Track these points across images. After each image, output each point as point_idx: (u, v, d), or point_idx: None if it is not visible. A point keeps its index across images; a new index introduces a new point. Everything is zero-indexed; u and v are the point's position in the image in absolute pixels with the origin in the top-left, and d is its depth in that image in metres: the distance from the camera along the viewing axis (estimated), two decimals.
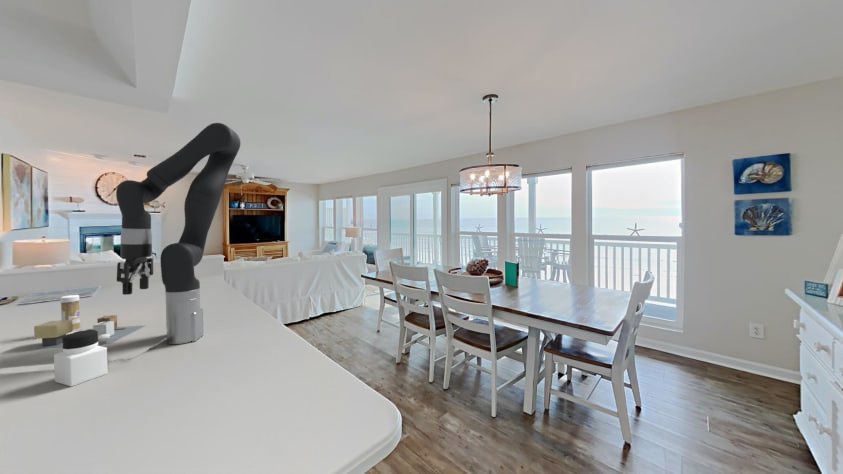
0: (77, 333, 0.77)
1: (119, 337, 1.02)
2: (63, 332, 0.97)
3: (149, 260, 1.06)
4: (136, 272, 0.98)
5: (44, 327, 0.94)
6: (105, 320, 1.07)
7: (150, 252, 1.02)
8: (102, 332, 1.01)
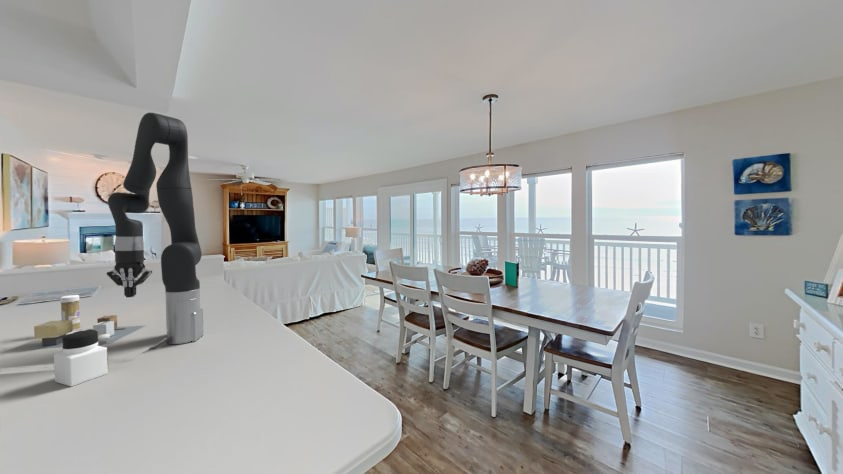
0: (77, 333, 0.77)
1: (119, 337, 1.02)
2: (63, 332, 0.97)
3: None
4: None
5: (44, 327, 0.94)
6: (105, 320, 1.07)
7: None
8: (102, 332, 1.01)
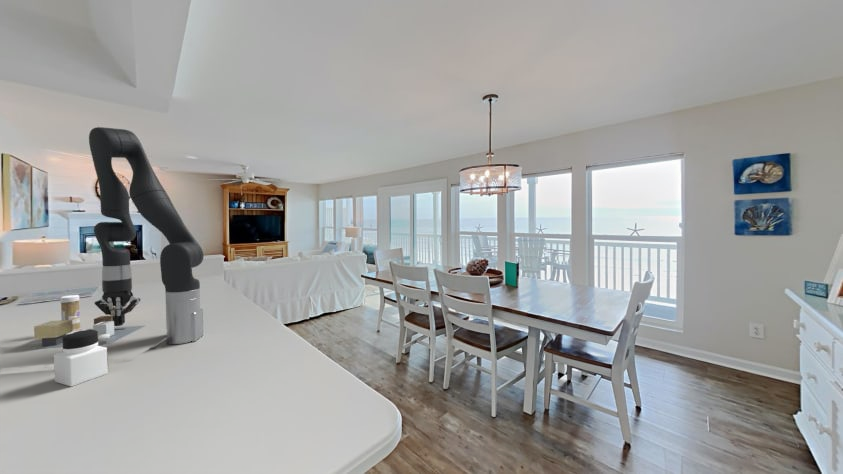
0: (77, 333, 0.77)
1: (119, 337, 1.02)
2: (63, 332, 0.97)
3: None
4: None
5: (44, 327, 0.94)
6: (101, 320, 1.07)
7: None
8: (102, 332, 1.01)
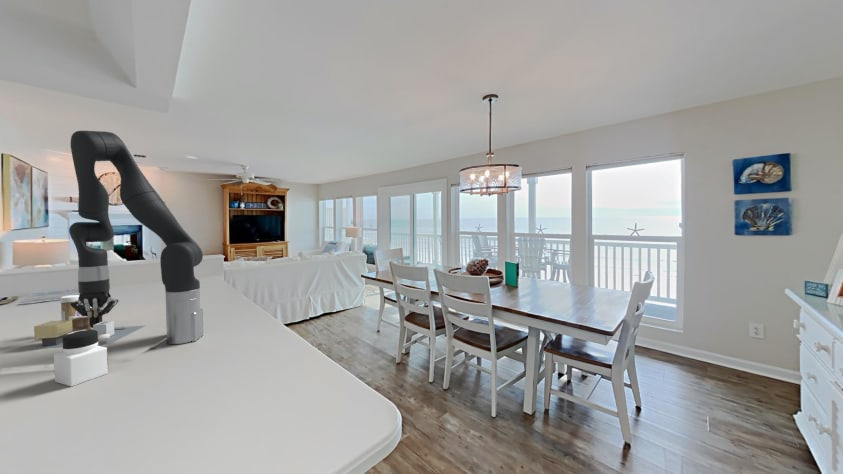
0: (77, 333, 0.77)
1: (119, 337, 1.02)
2: (63, 332, 0.97)
3: None
4: None
5: (44, 327, 0.94)
6: (78, 321, 1.05)
7: None
8: (102, 332, 1.01)
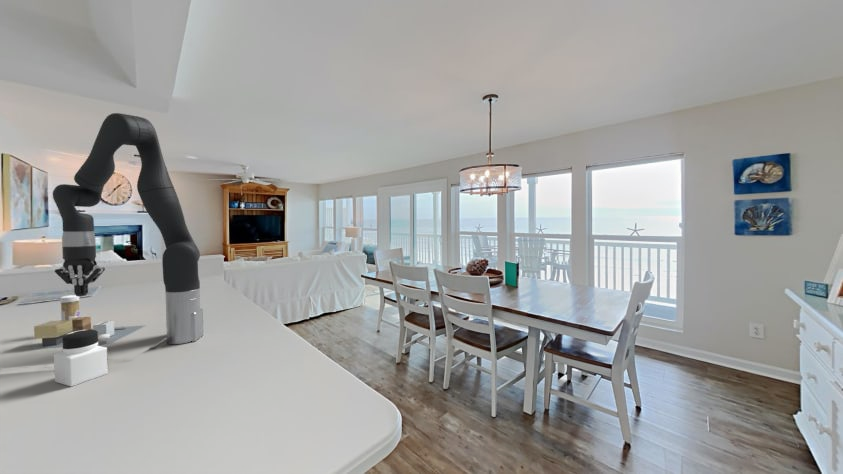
0: (77, 333, 0.77)
1: (119, 337, 1.02)
2: (63, 332, 0.97)
3: None
4: None
5: (44, 327, 0.94)
6: (78, 321, 1.05)
7: None
8: (102, 332, 1.01)
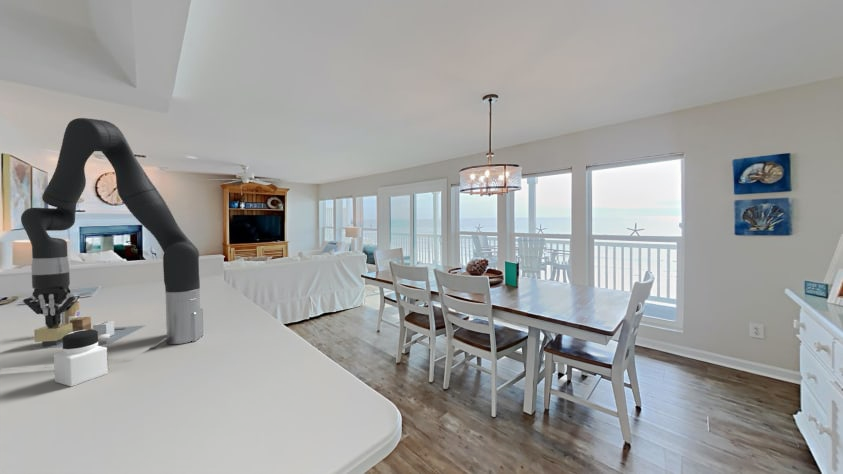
0: (77, 333, 0.77)
1: (119, 337, 1.02)
2: (63, 335, 0.97)
3: None
4: None
5: (44, 330, 0.94)
6: (78, 321, 1.05)
7: None
8: (102, 332, 1.01)
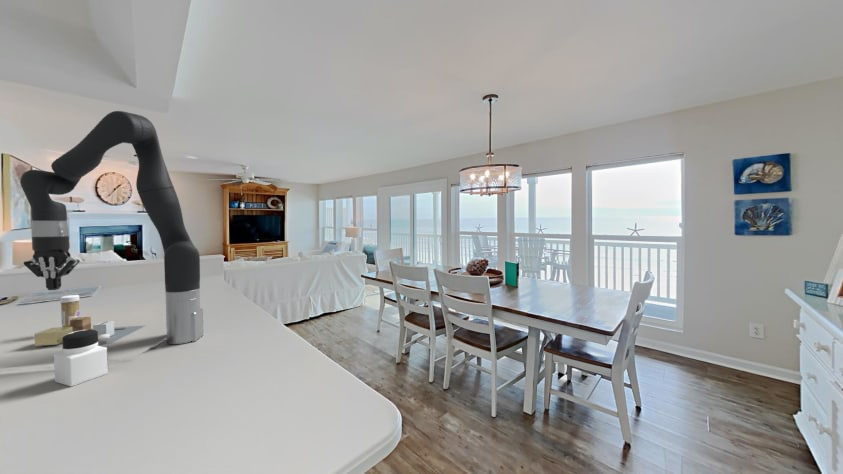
0: (77, 333, 0.77)
1: (119, 337, 1.02)
2: None
3: None
4: None
5: (44, 334, 0.94)
6: (78, 321, 1.05)
7: None
8: (102, 332, 1.01)
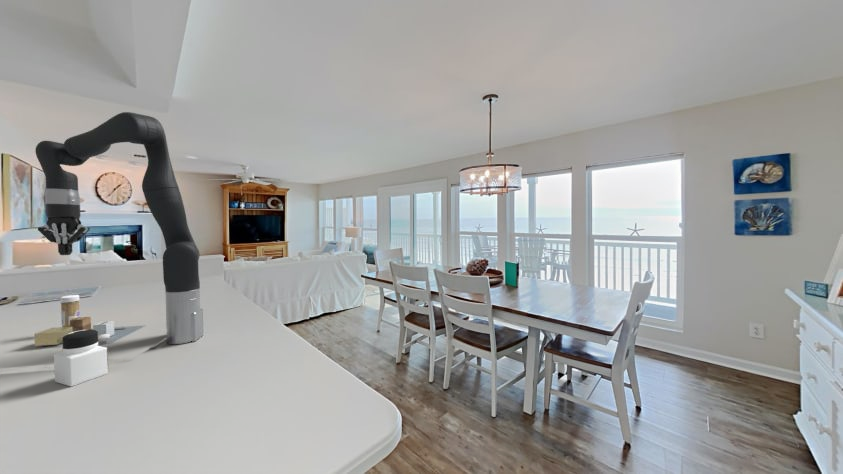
0: (77, 333, 0.77)
1: (119, 337, 1.02)
2: None
3: None
4: None
5: (44, 334, 0.94)
6: (78, 321, 1.05)
7: None
8: (102, 332, 1.01)
